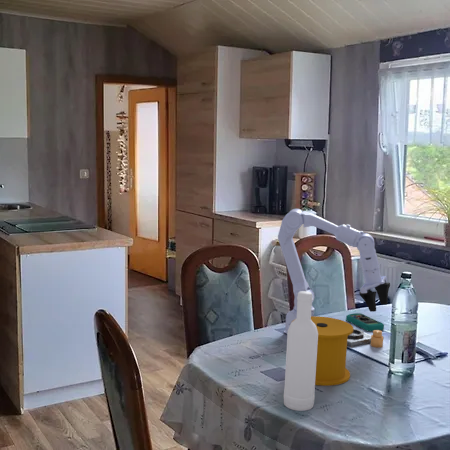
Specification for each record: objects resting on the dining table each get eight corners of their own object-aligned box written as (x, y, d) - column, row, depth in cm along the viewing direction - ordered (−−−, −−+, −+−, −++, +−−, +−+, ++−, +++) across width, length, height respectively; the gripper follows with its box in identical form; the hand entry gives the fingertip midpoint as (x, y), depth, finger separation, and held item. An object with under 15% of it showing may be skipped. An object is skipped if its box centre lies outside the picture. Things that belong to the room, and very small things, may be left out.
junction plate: (350, 346, 209) (351, 339, 208) (326, 336, 219) (327, 329, 218) (376, 341, 215) (377, 334, 215) (352, 331, 225) (352, 324, 225)
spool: (352, 367, 191) (355, 319, 188) (347, 389, 173) (351, 337, 171) (293, 359, 195) (296, 312, 193) (283, 380, 178) (286, 330, 176)
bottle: (277, 403, 163) (282, 291, 158) (296, 395, 168) (302, 287, 164) (301, 414, 157) (308, 298, 153) (320, 405, 163) (327, 293, 158)
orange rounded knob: (376, 348, 208) (377, 334, 207) (368, 344, 211) (369, 330, 211) (385, 346, 210) (386, 332, 209) (376, 343, 214) (377, 328, 213)
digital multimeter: (360, 319, 242) (361, 312, 242) (384, 330, 228) (385, 323, 228) (344, 321, 239) (345, 313, 239) (368, 332, 226) (368, 325, 225)
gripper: (370, 274, 204) (378, 314, 205) (391, 263, 214) (399, 301, 215) (351, 275, 209) (359, 314, 210) (373, 264, 219) (381, 301, 220)
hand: (378, 307), depth 213 cm, fingers open, 7 cm apart
